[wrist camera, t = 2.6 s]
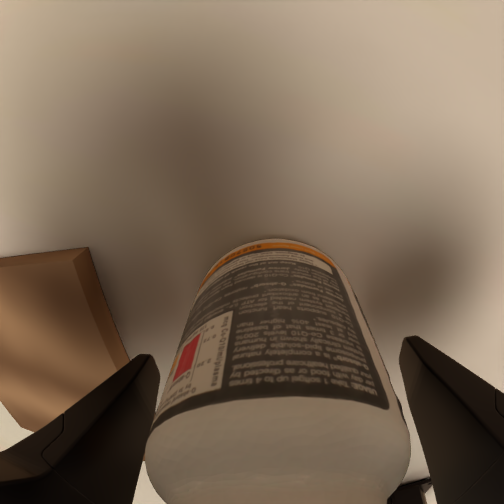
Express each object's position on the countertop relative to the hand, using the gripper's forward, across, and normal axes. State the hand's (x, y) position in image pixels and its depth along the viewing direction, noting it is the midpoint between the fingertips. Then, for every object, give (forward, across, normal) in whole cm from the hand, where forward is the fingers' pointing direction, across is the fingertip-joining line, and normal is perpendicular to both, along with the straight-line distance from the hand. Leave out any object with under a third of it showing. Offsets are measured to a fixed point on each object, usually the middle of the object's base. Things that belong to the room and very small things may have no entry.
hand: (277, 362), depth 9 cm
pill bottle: (+3, 0, 0) cm, 3 cm away
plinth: (+3, +14, +4) cm, 15 cm away
